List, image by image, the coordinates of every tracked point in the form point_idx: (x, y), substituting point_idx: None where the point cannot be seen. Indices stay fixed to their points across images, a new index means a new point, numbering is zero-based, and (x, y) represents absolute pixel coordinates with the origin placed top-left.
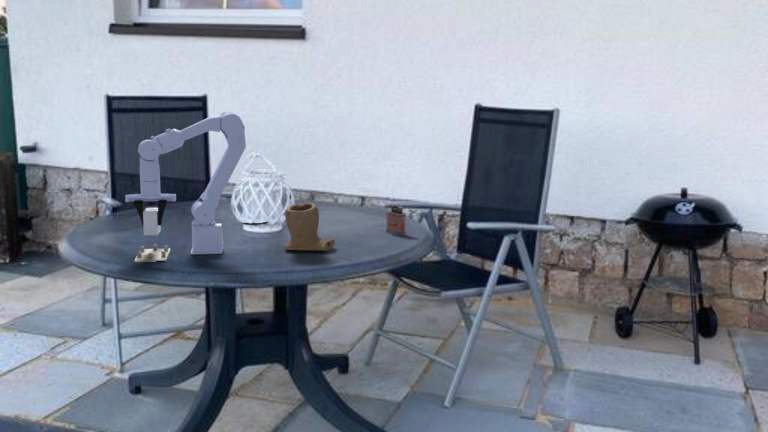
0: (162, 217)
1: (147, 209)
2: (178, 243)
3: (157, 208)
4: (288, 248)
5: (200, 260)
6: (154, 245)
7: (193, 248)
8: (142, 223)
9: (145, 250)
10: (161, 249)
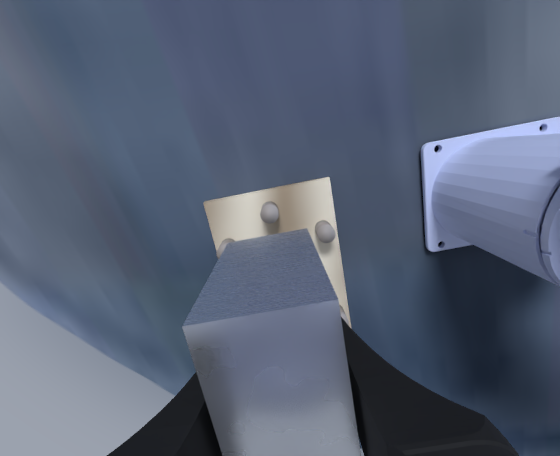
0: (360, 338)
1: (234, 418)
2: (331, 22)
3: (321, 353)
4: None
5: (469, 317)
6: (270, 223)
7: (445, 225)
8: None
9: (233, 224)
10: (295, 200)
